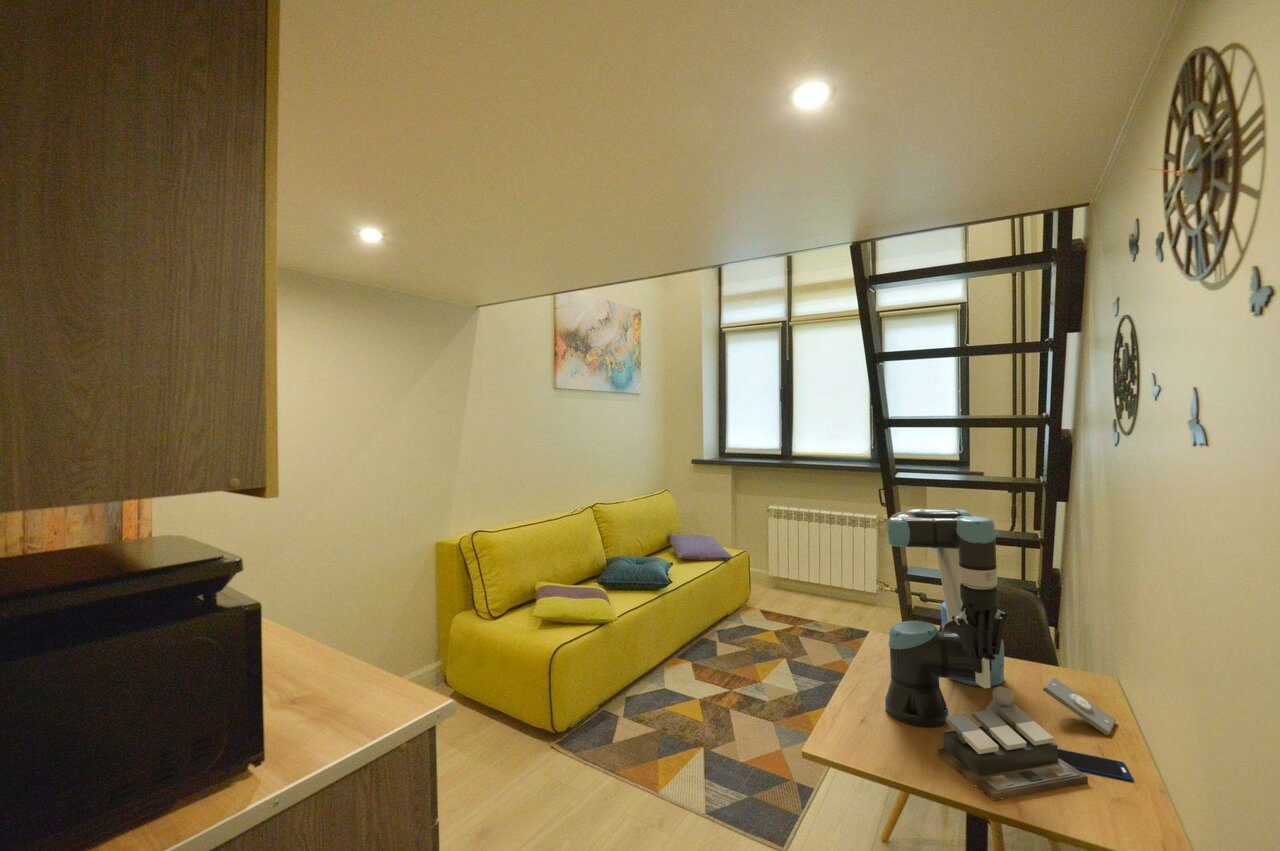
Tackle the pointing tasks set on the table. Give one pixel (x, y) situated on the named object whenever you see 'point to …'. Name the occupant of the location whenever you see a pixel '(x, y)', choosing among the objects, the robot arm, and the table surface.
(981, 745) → the left rocker
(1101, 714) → the light switch
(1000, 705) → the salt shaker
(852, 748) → the table surface
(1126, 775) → the cell phone
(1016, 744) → the middle rocker
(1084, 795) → the table surface
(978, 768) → the switch console
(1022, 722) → the right rocker
